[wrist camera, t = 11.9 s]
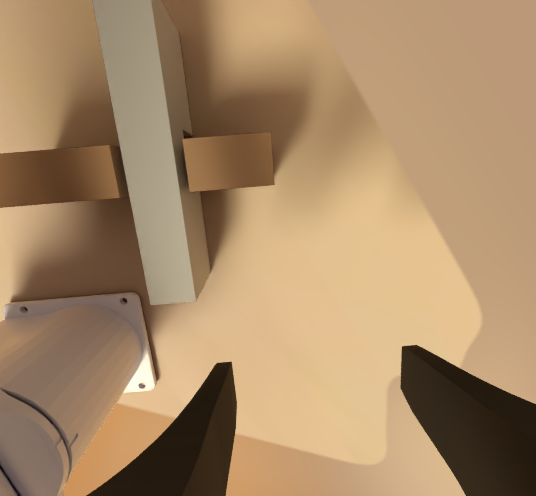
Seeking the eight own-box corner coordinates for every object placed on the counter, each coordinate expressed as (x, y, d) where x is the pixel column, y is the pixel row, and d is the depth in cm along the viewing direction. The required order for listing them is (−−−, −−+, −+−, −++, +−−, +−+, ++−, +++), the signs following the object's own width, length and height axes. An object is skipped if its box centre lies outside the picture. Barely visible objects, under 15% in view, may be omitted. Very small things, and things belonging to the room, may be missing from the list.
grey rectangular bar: (210, 272, 21) (195, 301, 16) (175, 275, 21) (150, 305, 16) (178, 32, 17) (147, -26, 12) (136, 35, 17) (88, -22, 12)
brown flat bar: (60, 200, 19) (-7, 208, 14) (51, 161, 18) (-23, 155, 14) (270, 183, 19) (274, 184, 14) (267, 143, 19) (270, 132, 14)
